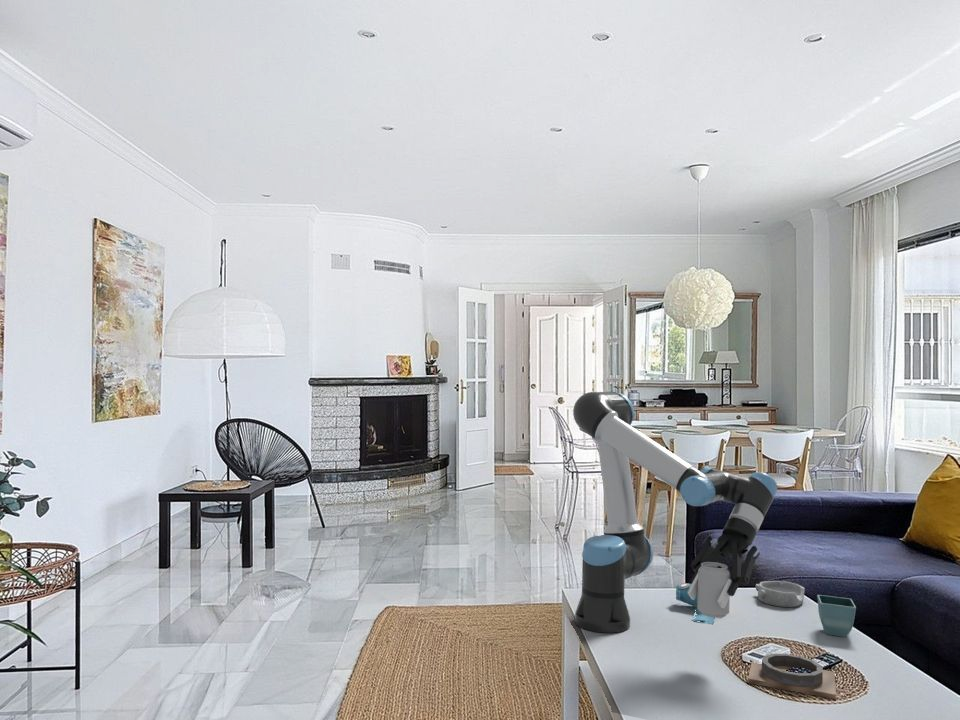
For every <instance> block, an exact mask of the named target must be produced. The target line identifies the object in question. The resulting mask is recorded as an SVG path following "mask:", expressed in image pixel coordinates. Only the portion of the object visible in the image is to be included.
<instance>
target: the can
mask: <svg viewBox="0 0 960 720" xmlns="http://www.w3.org/2000/svg"><path fill="white" fill-rule="evenodd" d="M701 565H702V566H701V567H700V568H699V569H698V597H697V609H698V610H699V611H700V613H701V614H703V615H705V616H708V617H714V618H713V619H716V618H718V619H719V618H724V617H726V616H727V615H728V614H730V599H731V597H730V598H729V600H728V602H727V604H726V606H725V608H724V609H723V608H721V607H720V605H719V603H718V602H717V601H718V599H719V597H720V595H721V592H722V590H723V588H724V586H725V584H726V582H727V580H728V579H731V572H730V571H729V569H728V565H727V564H725V563H722V562H703V563H701Z"/></svg>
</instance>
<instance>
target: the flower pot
mask: <svg viewBox="0 0 960 720" xmlns="http://www.w3.org/2000/svg"><path fill="white" fill-rule="evenodd" d="M816 597H817V609H818V616H819V620H820V623H821V625H822V628H823V631H824V633H825V634H826V635H828V636H829V635H830V636H836V637H837V636H838V637H842V638H847V637H848V635H850V633H851V632H852V630H853V627H854V622H855V618H856V617H855V616H856V610H857V606H856V605H855V603H854V601H853V599H852V598H848V597H841V596H839V597H838V596H831V595H822V594H817V595H816Z"/></svg>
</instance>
